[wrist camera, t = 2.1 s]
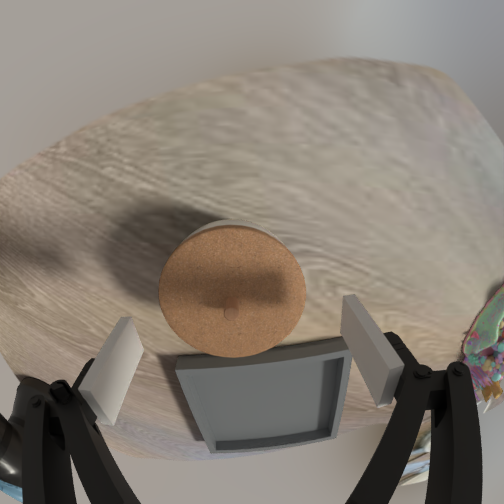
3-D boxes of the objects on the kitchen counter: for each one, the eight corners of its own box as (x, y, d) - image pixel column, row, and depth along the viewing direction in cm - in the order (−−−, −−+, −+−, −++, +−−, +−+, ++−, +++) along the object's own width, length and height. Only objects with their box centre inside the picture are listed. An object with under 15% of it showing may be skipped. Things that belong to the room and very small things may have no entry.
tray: (211, 441, 37) (210, 453, 34) (178, 355, 30) (174, 369, 28) (332, 426, 37) (336, 438, 35) (346, 335, 30) (353, 348, 28)
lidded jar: (184, 310, 28) (166, 371, 19) (173, 209, 25) (140, 237, 16) (285, 308, 29) (304, 368, 20) (289, 206, 25) (318, 233, 16)
